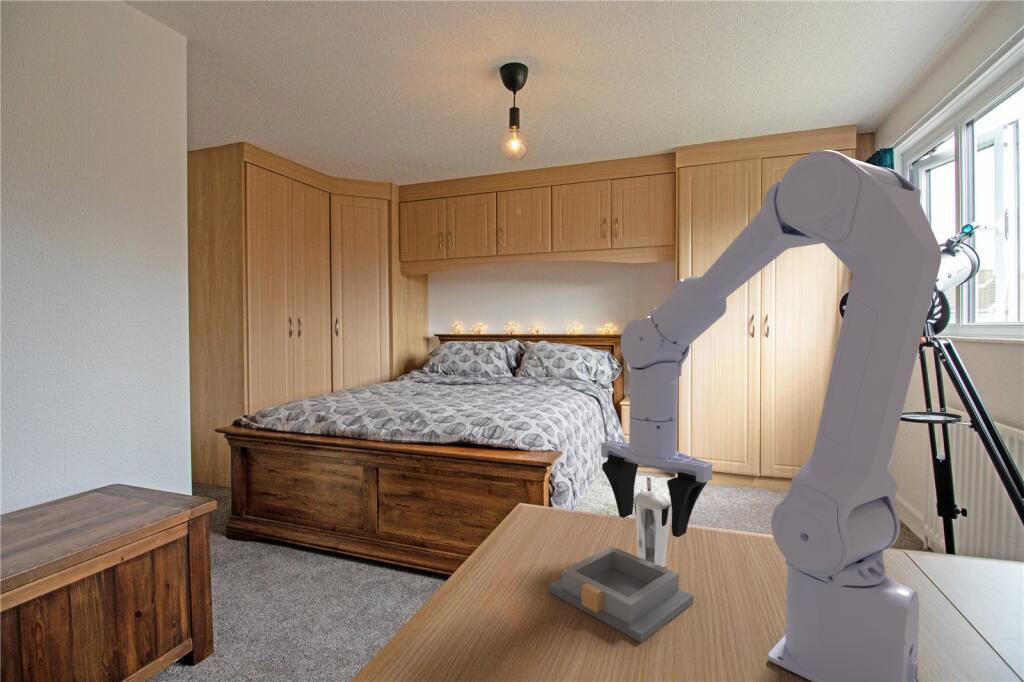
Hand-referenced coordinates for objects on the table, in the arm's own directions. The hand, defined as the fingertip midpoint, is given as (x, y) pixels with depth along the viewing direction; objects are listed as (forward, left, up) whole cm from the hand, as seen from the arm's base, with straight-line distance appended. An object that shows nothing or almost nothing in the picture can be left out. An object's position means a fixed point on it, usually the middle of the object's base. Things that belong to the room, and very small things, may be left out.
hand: (651, 524), depth 63 cm
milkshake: (0, 0, -5) cm, 5 cm away
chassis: (-2, +10, -5) cm, 11 cm away
